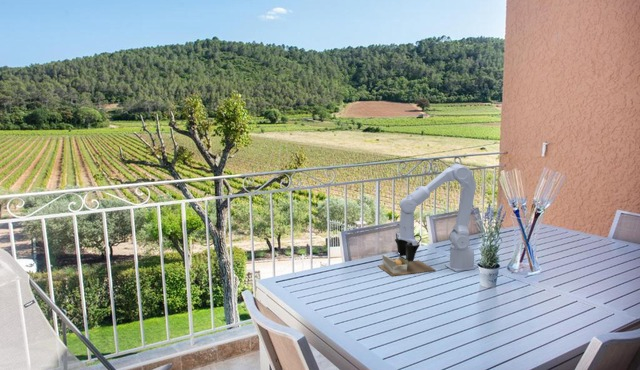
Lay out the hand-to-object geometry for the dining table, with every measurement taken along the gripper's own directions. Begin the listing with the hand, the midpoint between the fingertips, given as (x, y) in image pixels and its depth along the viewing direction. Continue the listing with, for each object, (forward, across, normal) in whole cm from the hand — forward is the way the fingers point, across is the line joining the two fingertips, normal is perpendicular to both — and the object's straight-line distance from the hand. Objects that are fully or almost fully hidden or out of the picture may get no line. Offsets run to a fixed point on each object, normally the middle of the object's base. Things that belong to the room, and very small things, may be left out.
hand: (406, 257), depth 203 cm
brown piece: (+5, 0, 0) cm, 5 cm away
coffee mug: (+5, -19, +11) cm, 22 cm away
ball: (+2, 0, -4) cm, 5 cm away
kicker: (+3, 0, 0) cm, 3 cm away
